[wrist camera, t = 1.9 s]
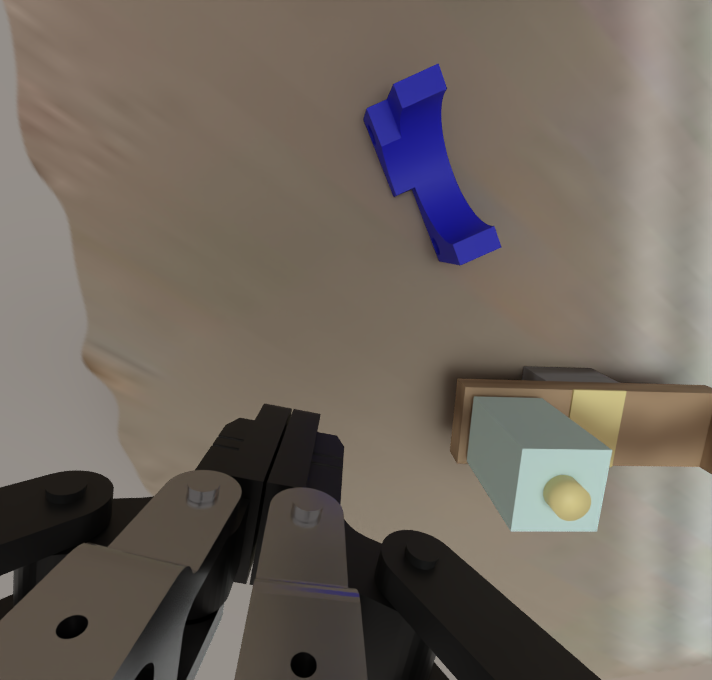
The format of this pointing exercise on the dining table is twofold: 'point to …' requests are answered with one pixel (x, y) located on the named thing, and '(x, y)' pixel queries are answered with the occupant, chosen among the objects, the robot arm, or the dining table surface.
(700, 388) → the beam
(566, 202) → the dining table surface
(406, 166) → the cable clip
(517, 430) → the block
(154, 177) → the dining table surface
